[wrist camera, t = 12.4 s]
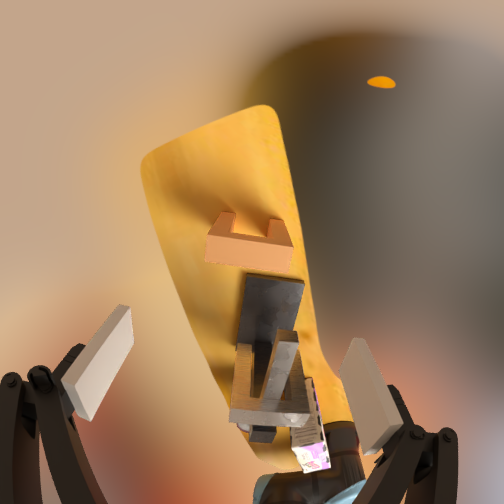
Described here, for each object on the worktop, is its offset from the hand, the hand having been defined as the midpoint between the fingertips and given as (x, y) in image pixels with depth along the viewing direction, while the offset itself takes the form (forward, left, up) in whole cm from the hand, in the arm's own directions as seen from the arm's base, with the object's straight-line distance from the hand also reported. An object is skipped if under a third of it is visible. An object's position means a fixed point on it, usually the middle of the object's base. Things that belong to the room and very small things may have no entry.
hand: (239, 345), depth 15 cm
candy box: (-36, -17, -27) cm, 48 cm away
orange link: (0, 0, -26) cm, 27 cm away
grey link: (-16, -5, -18) cm, 25 cm away
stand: (-15, -5, -26) cm, 31 cm away
